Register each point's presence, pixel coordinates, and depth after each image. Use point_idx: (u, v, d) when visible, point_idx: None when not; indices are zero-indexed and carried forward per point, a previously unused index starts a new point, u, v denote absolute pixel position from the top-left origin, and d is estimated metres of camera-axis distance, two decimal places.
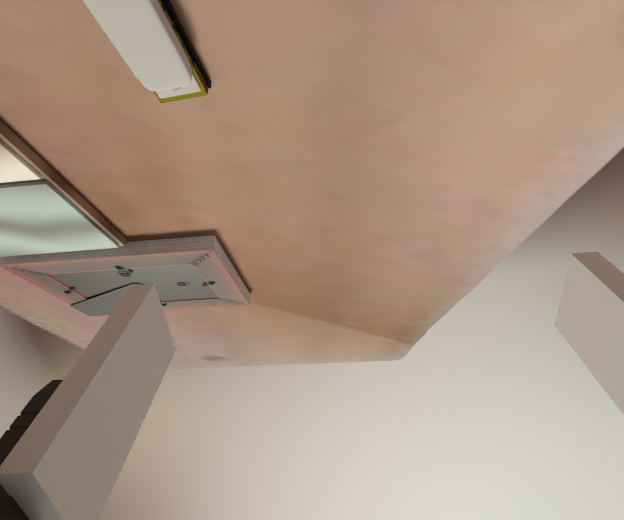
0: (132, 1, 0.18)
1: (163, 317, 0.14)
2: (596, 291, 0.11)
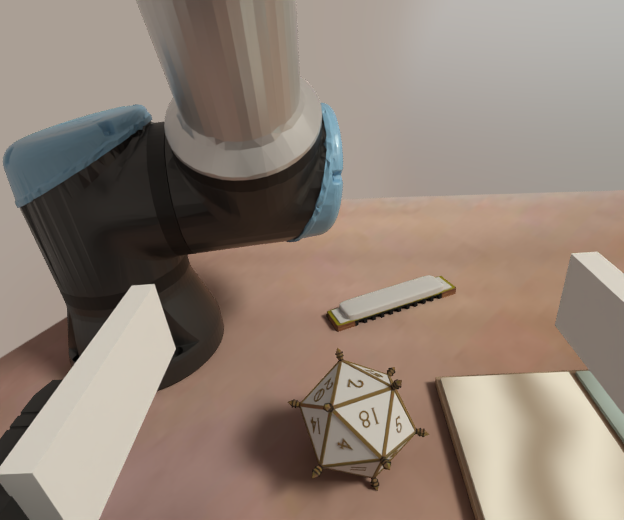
0: (397, 287, 0.47)
1: (163, 317, 0.14)
2: (596, 291, 0.11)
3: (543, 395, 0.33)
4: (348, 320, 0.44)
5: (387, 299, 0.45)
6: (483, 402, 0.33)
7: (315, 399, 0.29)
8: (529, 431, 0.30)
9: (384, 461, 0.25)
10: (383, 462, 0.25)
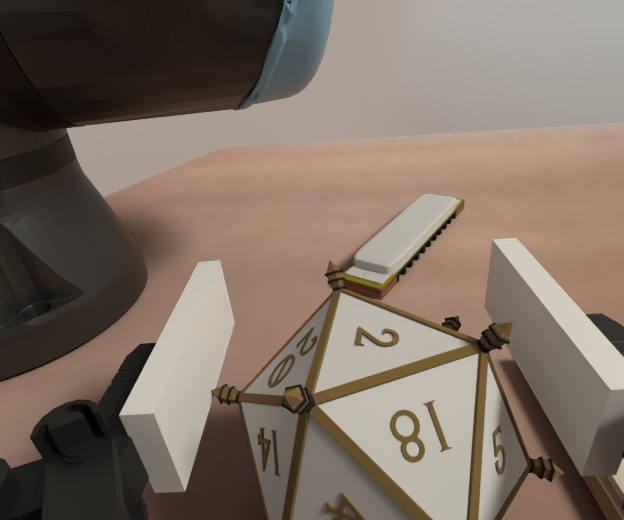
0: (407, 215, 0.30)
1: (226, 292, 0.15)
2: (508, 272, 0.13)
3: None
4: (389, 275, 0.25)
5: (414, 230, 0.28)
6: None
7: (271, 383, 0.11)
8: None
9: None
10: None
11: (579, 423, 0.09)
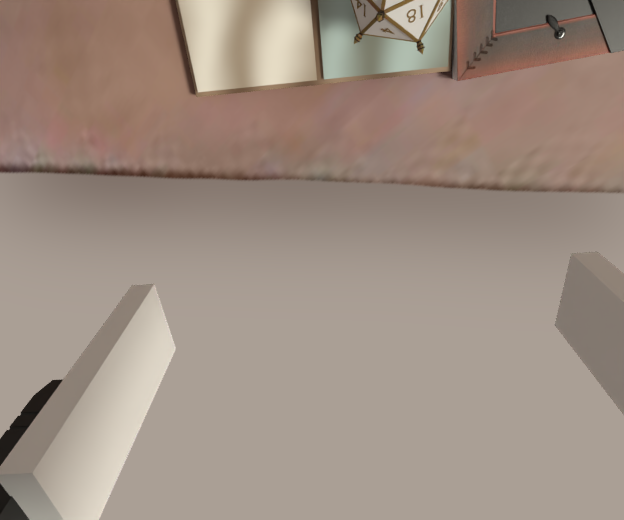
0: None
1: (164, 317, 0.14)
2: (596, 291, 0.12)
3: None
4: None
5: None
6: None
7: None
8: None
9: (419, 47, 0.30)
10: (418, 47, 0.30)
11: None
